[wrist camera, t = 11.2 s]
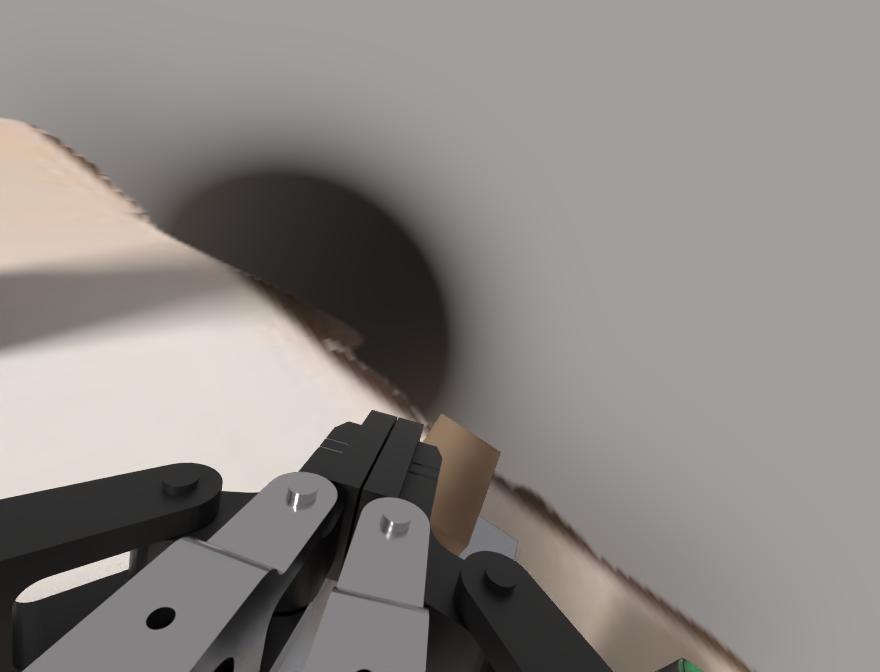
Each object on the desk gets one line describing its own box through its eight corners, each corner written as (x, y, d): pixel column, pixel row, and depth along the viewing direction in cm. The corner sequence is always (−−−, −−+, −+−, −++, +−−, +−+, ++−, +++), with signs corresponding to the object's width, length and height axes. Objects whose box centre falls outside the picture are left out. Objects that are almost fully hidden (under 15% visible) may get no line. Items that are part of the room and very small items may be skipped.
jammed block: (340, 573, 29) (392, 493, 23) (391, 489, 35) (441, 413, 30) (401, 616, 28) (468, 545, 23) (441, 523, 35) (500, 452, 30)
